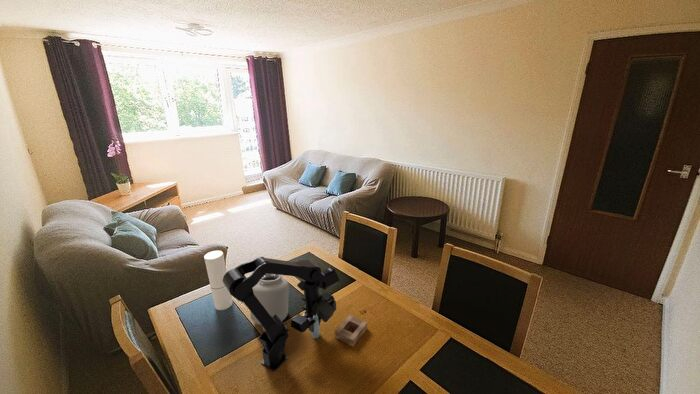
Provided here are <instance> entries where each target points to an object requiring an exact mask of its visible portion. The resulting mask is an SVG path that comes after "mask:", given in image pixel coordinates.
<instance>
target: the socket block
mask: <svg viewBox="0 0 700 394" xmlns="http://www.w3.org/2000/svg"><path fill="white" fill-rule="evenodd" d="M350 328H351V329H353V330H354V332H351V331H349V330H348V329H350ZM367 330H368V322H367V321H365V320H362V319H360V318H358V317H355V316H353V315H351V314H349V315H347V317H346V318H345V319H344V321H343V322H342V323H341V324H340V325H339V326H338V327H337V328H336V330H335V331H334V337H335V339H337V340H339V341H341V342H342V343H345V344H346V345H348V346H350V347H355V345H356V344H357V343H358V342H359V340H360V339H361V338H362V337H363V335H364V334H365V333H366V331H367Z"/></svg>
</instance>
